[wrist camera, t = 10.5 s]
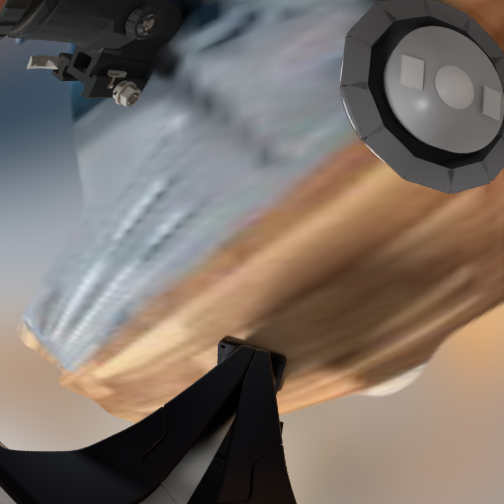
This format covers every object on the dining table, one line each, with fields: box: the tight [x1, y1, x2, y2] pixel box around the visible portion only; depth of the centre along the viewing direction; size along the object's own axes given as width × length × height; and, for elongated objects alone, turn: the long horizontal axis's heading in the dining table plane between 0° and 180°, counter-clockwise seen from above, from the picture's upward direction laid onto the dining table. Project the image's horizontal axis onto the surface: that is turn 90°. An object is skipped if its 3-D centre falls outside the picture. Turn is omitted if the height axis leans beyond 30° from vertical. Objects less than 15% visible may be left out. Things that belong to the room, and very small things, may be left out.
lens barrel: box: [340, 0, 504, 194], centre depth 11 cm, size 10×10×5 cm
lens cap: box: [381, 26, 504, 153], centre depth 9 cm, size 6×6×3 cm
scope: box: [0, 0, 182, 107], centre depth 10 cm, size 8×14×10 cm
